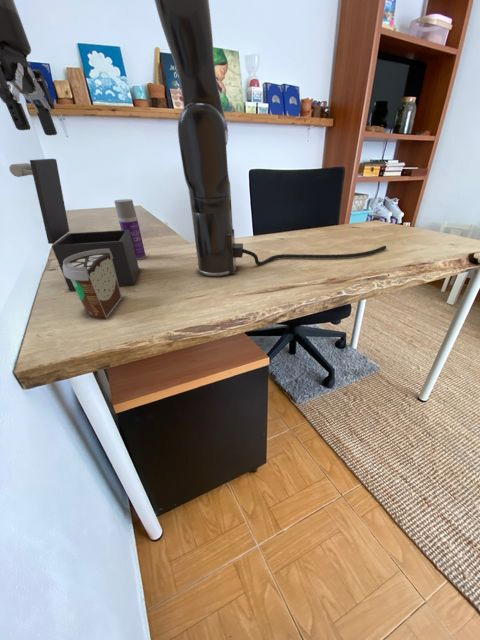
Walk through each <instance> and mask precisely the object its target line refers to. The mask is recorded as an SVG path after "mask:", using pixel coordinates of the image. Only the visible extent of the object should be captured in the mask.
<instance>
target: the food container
mask: <svg viewBox="0 0 480 640" xmlns="http://www.w3.org/2000/svg"><path fill="white" fill-rule="evenodd" d="M112 259H113V256H112V254H111V252H110V249H97V250H90V251H85V252H81V253H77V254H74V255H72V256H69V257H67V258H66V259H64V261H63V273H64V275H63V277H64V276H65V277H66V278H68V279H71V281H72V283H73V285H74V287H75V289H76V291H75V292H76V293H77V296H78V297H79V300H80V302H81V304H82V306H83V308H84V310H85V312H86V314H87V315H88V316H89V317H90V318H94V319H97V320H107V319H108V318H109V316H110V314H111V313H112V312H113V311H114V310H115V308H116V306H117V305H119V303H120V301H121V300H122V298H123V296H122V293H121V288H120V286H119V284H118V280H117V276H116V272H115V268H114V264H113V261H112ZM63 273H62V274H63Z"/></svg>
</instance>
